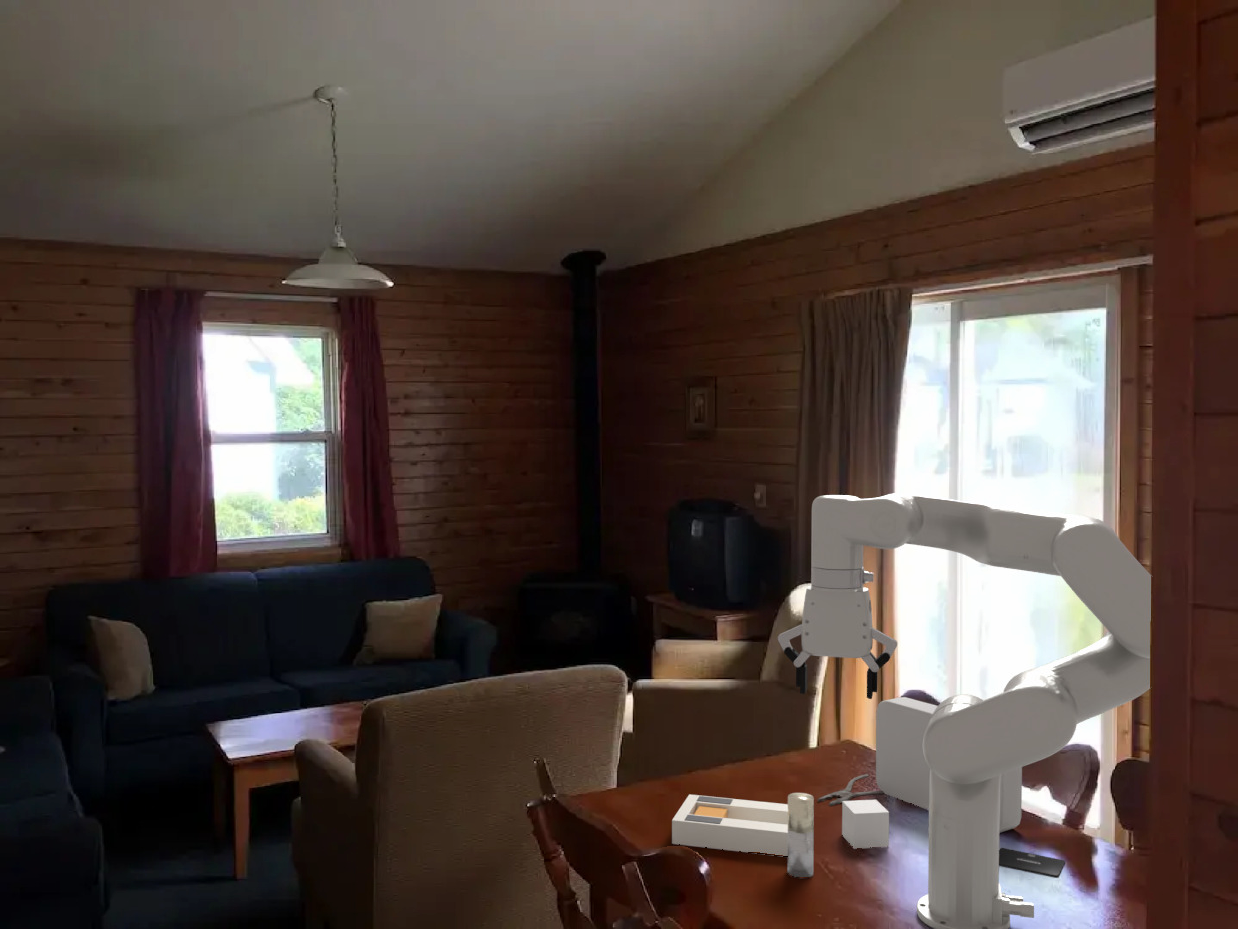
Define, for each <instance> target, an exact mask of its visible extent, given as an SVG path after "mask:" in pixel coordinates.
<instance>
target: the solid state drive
mask: <svg viewBox="0 0 1238 929" xmlns="http://www.w3.org/2000/svg"><path fill="white" fill-rule="evenodd" d="M1065 864H1066V860H1065V859H1059V858H1054V857H1049V856H1044V855H1040V854H1036V853H1035V854H1034V853H1030V852H1025V851H1020V850H1015V849H1011V848H1006V847H999V867H1003V868H1009V869H1013V870H1018V871H1023V872H1027V873H1033V874H1038V875H1041V876H1042V875H1043V876H1048V877H1052V878H1059V877H1060V875H1061V873H1062V870H1063V868H1064V867H1065ZM1063 866H1064V867H1063Z"/></svg>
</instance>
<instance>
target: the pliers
mask: <svg viewBox="0 0 1238 929" xmlns="http://www.w3.org/2000/svg"><path fill="white" fill-rule="evenodd" d="M868 777H869V774H867V773H866V774H861V775H858V776H856V777H854V778H852V779H851V780H850V781H848V783H847V785H846V787H845V788H844V789H841V790H838V791H833V792H831V793H828V794H826V795H823V796H821V797H819V798H817V802H818V803H821V802H824V801H827V799H828V800H832V801H830V802H828V803H829V805H828V806H830V807H832V806H836V805H835V804H837V805H841V804H840V803H842V801H851V800H852V799H854V798H853V797H855V798H858V797H864V796H873V795H874V794H875V795H884V794H883V793H884V792H883V791H881V790H872V791H860V792H852V789H853V786H854V784H855V782H857V781H858V779H859V780H862V779H865V778H868ZM856 780H857V781H856ZM852 785H853V786H852ZM875 795H874V796H875ZM835 797H840V798H836V799H835V800H833V798H835ZM851 798H852V799H851Z"/></svg>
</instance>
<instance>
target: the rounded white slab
mask: <svg viewBox="0 0 1238 929" xmlns="http://www.w3.org/2000/svg"><path fill="white" fill-rule="evenodd" d="M937 707H938V705H936V704H933V703H929V702H925V701H921V700H917V699H914V698H909V697H906V696H903V697H896V698H890V699H886V700H882V701H880V703H878V704H877V709H876V716H875V717H876V718H875V720H876V721H875V722H876V723H875V724H876V725H875V726H876V728H875V730H876V731H875V734H876V735H875V780H876V785H877V786H878V788H879V791H883V792H884V793H885V795H887V796H890V797H893V798H894V797H895V799H897V798H898V800H900V801H902V800H903V801H902V802H906V803H908V804H910V803H912V804H911V805H913V804H914V806H916V805H917V806H916V807H918V806H919V808H921V809H924V810H926V809H928V810H927V811H929V786H930V767H929V766H928V764H927V762H926V760H925V758H924V754H923V738H924V734H925V731H926V729H927V726H928V723H929V721H930V718H931V716H932V714H933V712H934V711H935V709H936V708H937ZM1022 780H1023V767H1021V768H1018V769H1015V770H1012V771H1010V772H1007V773H1004V774H1001V777H1000V819H999V834H1000V833H1003V832H1006V831H1010V830H1012V829H1016V828H1017V826H1019V825H1020V824H1021V819H1022V801H1023V800H1022V797H1023V796H1022V795H1023V794H1022V793H1023V787H1022V786H1023V781H1022Z"/></svg>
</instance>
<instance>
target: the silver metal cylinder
mask: <svg viewBox="0 0 1238 929" xmlns="http://www.w3.org/2000/svg"><path fill="white" fill-rule="evenodd" d="M814 800H815V798H814V796H813V795H812V794H809V793H806V792H792V793H789V794H788V795H787V804H788V857H787V874H788V873H789V874H790V875H792V876H794V877H793V878H796V877H809V878H811V877H813V876H814V846H815V845H814V838H815V837H814V836H815V835H814V834H815V833H814V832H815V831H814V829H815V828H814V827H815V826H814V819H815V818H814V817H815V816H814V814H815V812H814V810H815V807H814V806H815V804H814V803H815V801H814ZM789 874H788V875H789ZM790 875H789V876H790ZM792 876H791V877H792Z"/></svg>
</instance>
